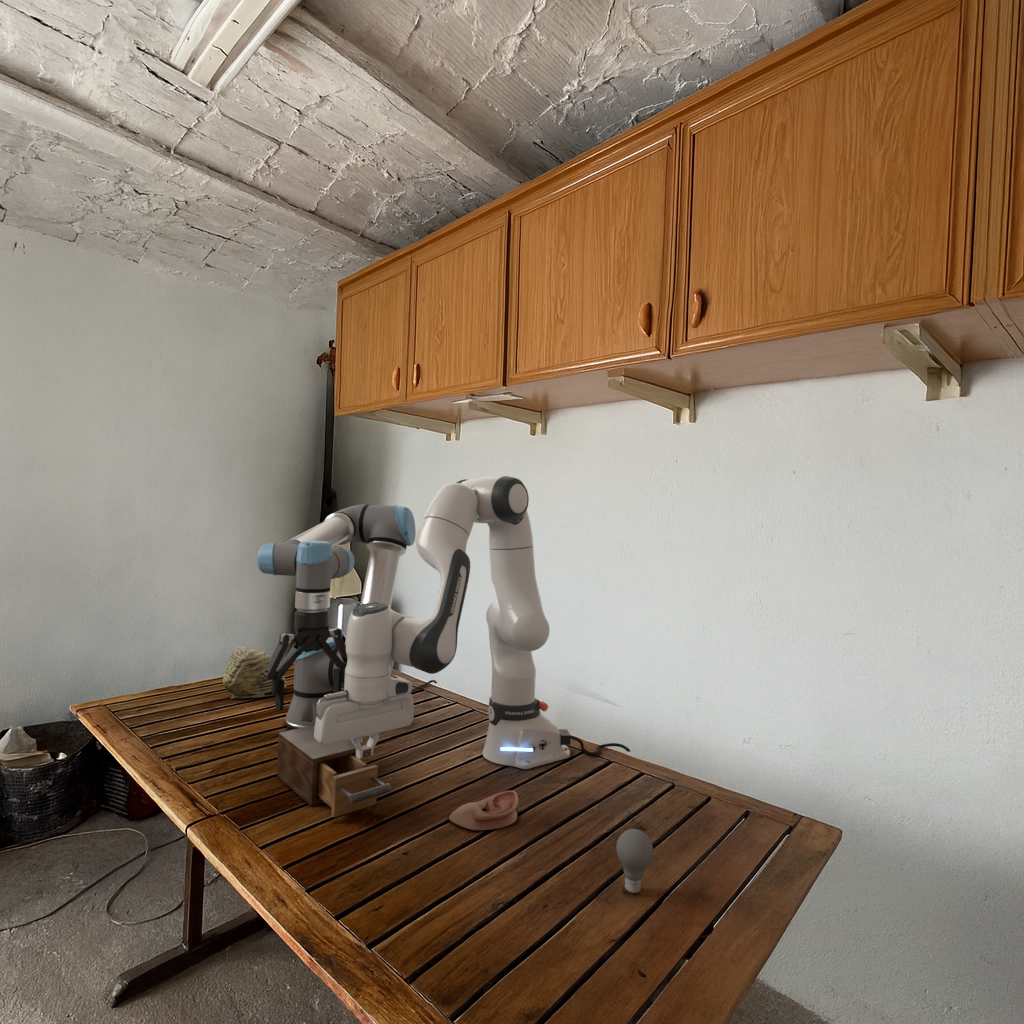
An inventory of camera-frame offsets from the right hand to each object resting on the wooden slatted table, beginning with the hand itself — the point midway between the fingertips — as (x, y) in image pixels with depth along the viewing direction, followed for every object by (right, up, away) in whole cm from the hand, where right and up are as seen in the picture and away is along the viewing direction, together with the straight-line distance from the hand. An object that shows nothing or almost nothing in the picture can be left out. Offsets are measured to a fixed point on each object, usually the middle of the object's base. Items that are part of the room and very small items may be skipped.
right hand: (364, 756), depth 124 cm
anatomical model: (+23, -14, +4) cm, 27 cm away
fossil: (-52, -9, +74) cm, 90 cm away
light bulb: (+49, -15, -19) cm, 55 cm away
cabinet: (-14, -12, +15) cm, 24 cm away
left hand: (-17, +5, +19) cm, 26 cm away
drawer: (-6, -11, +6) cm, 14 cm away
